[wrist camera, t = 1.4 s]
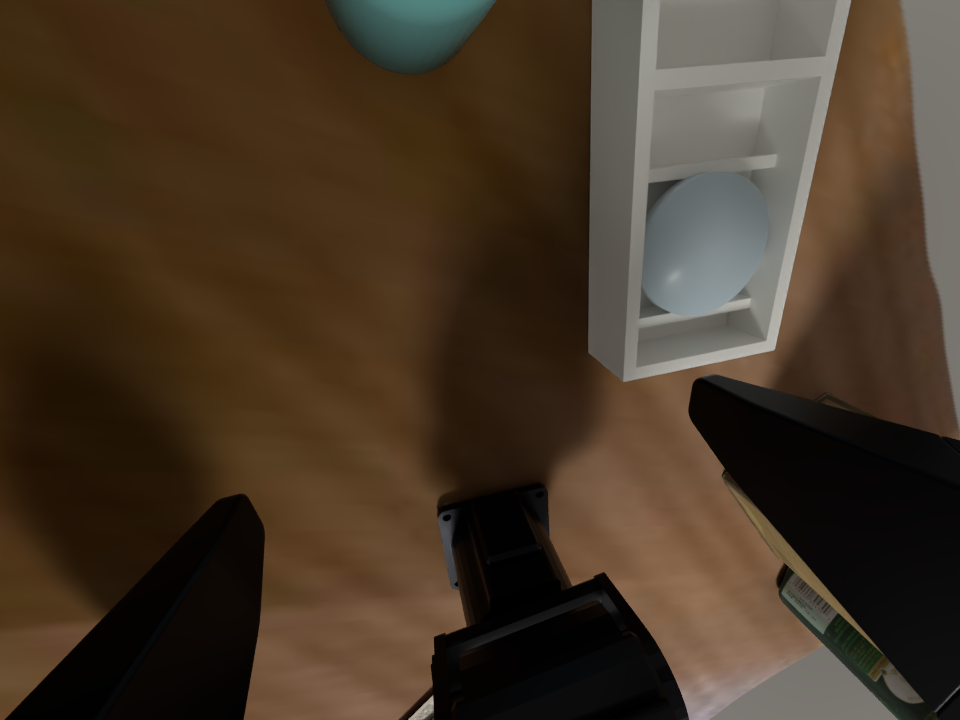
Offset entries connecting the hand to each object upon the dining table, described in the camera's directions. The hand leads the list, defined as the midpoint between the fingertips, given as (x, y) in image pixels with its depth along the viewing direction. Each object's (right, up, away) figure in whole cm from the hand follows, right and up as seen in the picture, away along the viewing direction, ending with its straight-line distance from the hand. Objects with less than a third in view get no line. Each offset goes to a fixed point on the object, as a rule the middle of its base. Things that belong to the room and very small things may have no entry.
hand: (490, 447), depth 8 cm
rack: (+8, +11, +10) cm, 18 cm away
